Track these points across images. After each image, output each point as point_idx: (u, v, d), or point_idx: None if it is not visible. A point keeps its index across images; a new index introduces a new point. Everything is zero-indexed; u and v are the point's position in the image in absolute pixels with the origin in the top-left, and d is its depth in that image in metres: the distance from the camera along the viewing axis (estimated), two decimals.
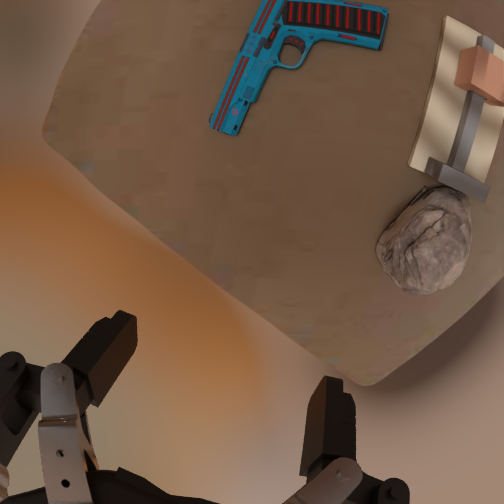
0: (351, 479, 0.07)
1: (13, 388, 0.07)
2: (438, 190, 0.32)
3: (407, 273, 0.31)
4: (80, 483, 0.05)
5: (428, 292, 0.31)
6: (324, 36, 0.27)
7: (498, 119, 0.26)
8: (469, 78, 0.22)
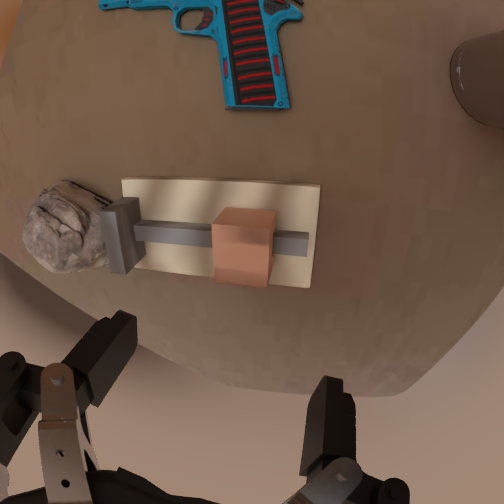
0: (351, 479, 0.07)
1: (12, 387, 0.07)
2: None
3: None
4: (80, 483, 0.05)
5: None
6: (219, 44, 0.23)
7: None
8: (221, 222, 0.27)
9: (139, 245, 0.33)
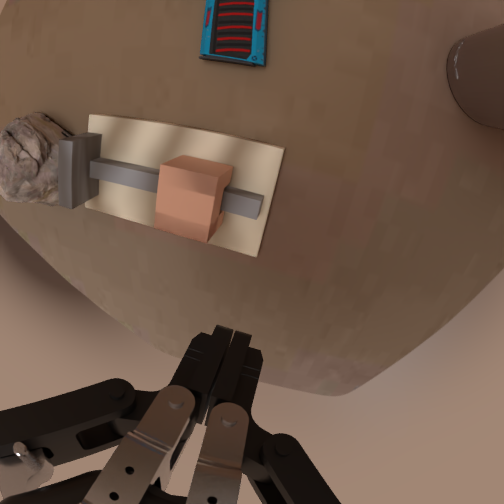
0: (234, 425, 0.08)
1: (104, 416, 0.07)
2: None
3: None
4: None
5: None
6: None
7: None
8: (171, 164, 0.24)
9: (92, 183, 0.30)
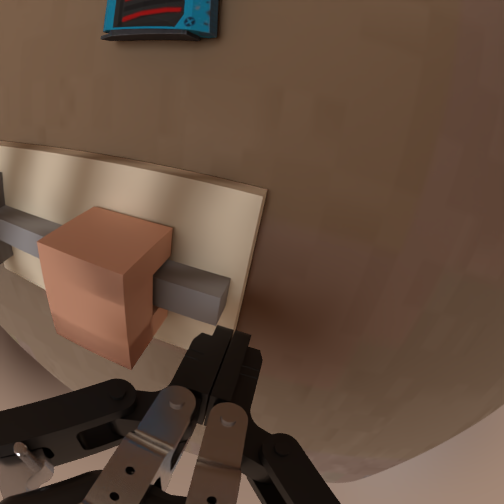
0: (233, 424, 0.08)
1: (105, 417, 0.07)
2: None
3: None
4: None
5: None
6: None
7: None
8: (55, 239, 0.12)
9: None
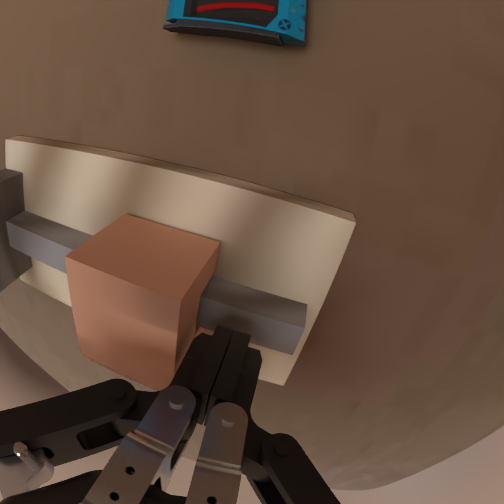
0: (233, 424, 0.08)
1: (105, 417, 0.07)
2: None
3: None
4: None
5: None
6: None
7: None
8: (87, 254, 0.11)
9: (17, 253, 0.16)
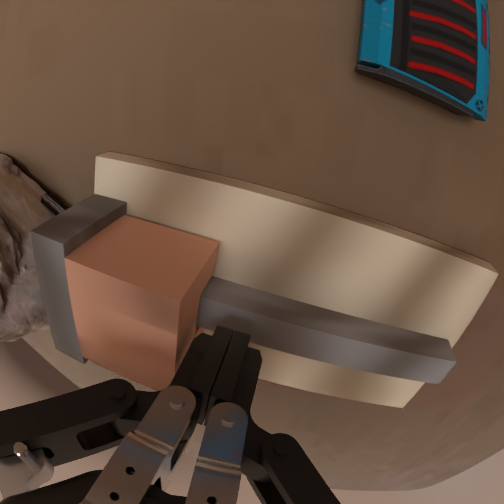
0: (233, 424, 0.08)
1: (105, 417, 0.07)
2: None
3: None
4: None
5: None
6: None
7: (263, 372, 0.18)
8: (86, 255, 0.11)
9: None
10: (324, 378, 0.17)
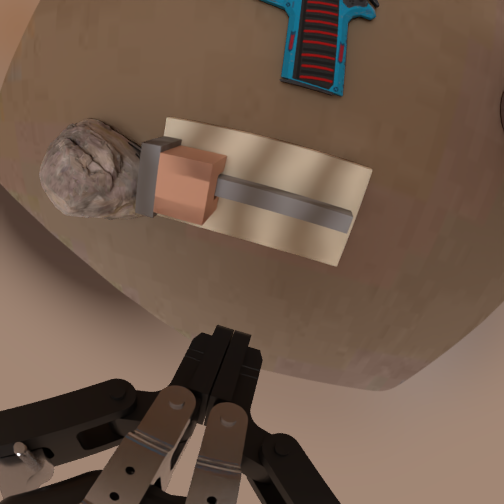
0: (233, 424, 0.08)
1: (105, 417, 0.07)
2: None
3: None
4: None
5: None
6: (291, 18, 0.22)
7: (248, 234, 0.33)
8: (170, 152, 0.26)
9: None
10: (282, 237, 0.32)
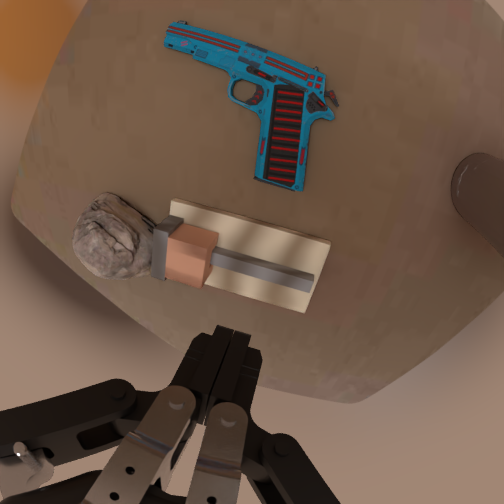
0: (233, 425, 0.08)
1: (105, 417, 0.07)
2: None
3: (80, 227, 0.36)
4: None
5: None
6: (262, 124, 0.33)
7: (237, 289, 0.43)
8: (175, 236, 0.37)
9: None
10: (262, 292, 0.43)
